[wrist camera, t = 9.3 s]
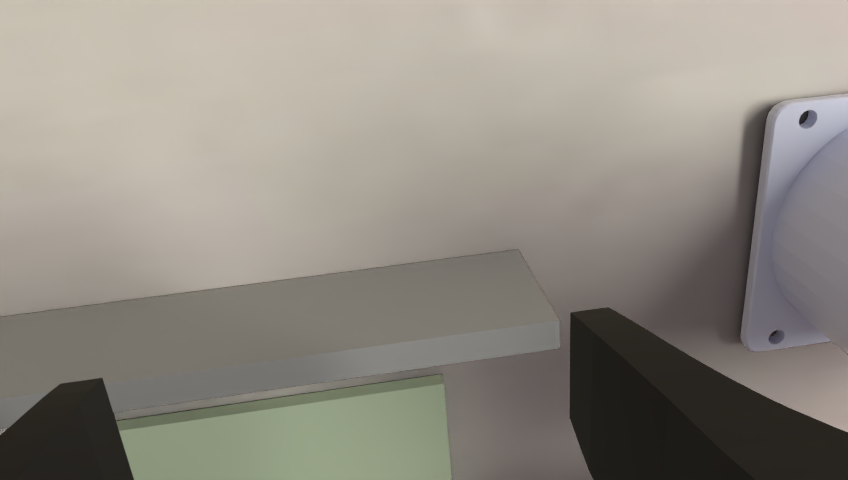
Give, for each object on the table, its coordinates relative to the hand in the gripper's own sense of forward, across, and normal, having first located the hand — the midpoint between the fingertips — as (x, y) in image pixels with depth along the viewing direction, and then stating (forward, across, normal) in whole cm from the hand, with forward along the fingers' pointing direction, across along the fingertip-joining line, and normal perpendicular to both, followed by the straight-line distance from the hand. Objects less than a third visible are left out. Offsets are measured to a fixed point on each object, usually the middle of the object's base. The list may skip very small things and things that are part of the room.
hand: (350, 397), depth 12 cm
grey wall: (+9, +3, +3) cm, 10 cm away
